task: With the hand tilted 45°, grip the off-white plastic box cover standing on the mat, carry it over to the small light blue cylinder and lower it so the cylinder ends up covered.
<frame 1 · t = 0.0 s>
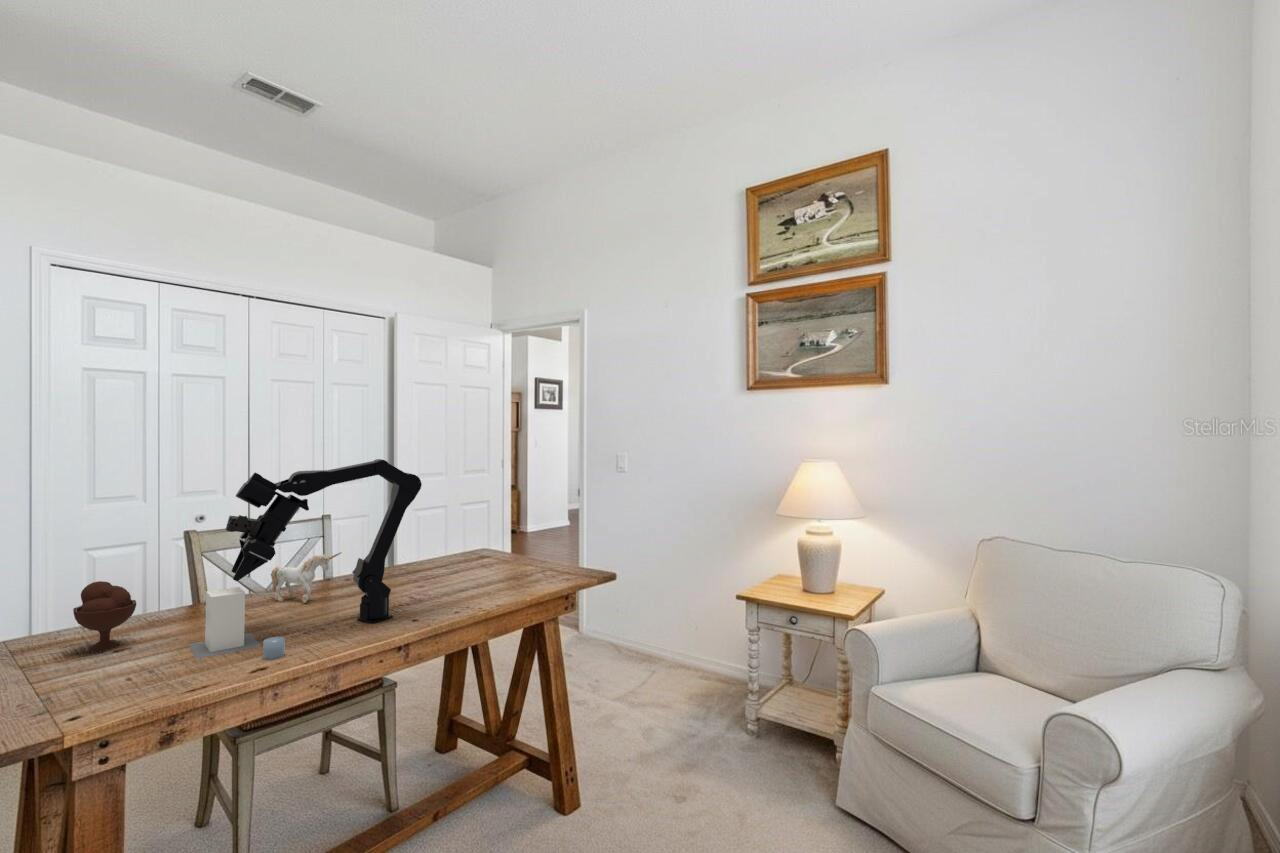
hand: (234, 576, 145), 15 cm above the table, tool tilted 35°, fingers open, 9 cm apart
cover: (224, 645, 141), resting on mat
ice cream bowl: (104, 649, 139), on the table
unicorn figurine: (305, 599, 182), on the table
mat: (224, 646, 141), on the table
light blue cylinder: (273, 658, 135), on the table
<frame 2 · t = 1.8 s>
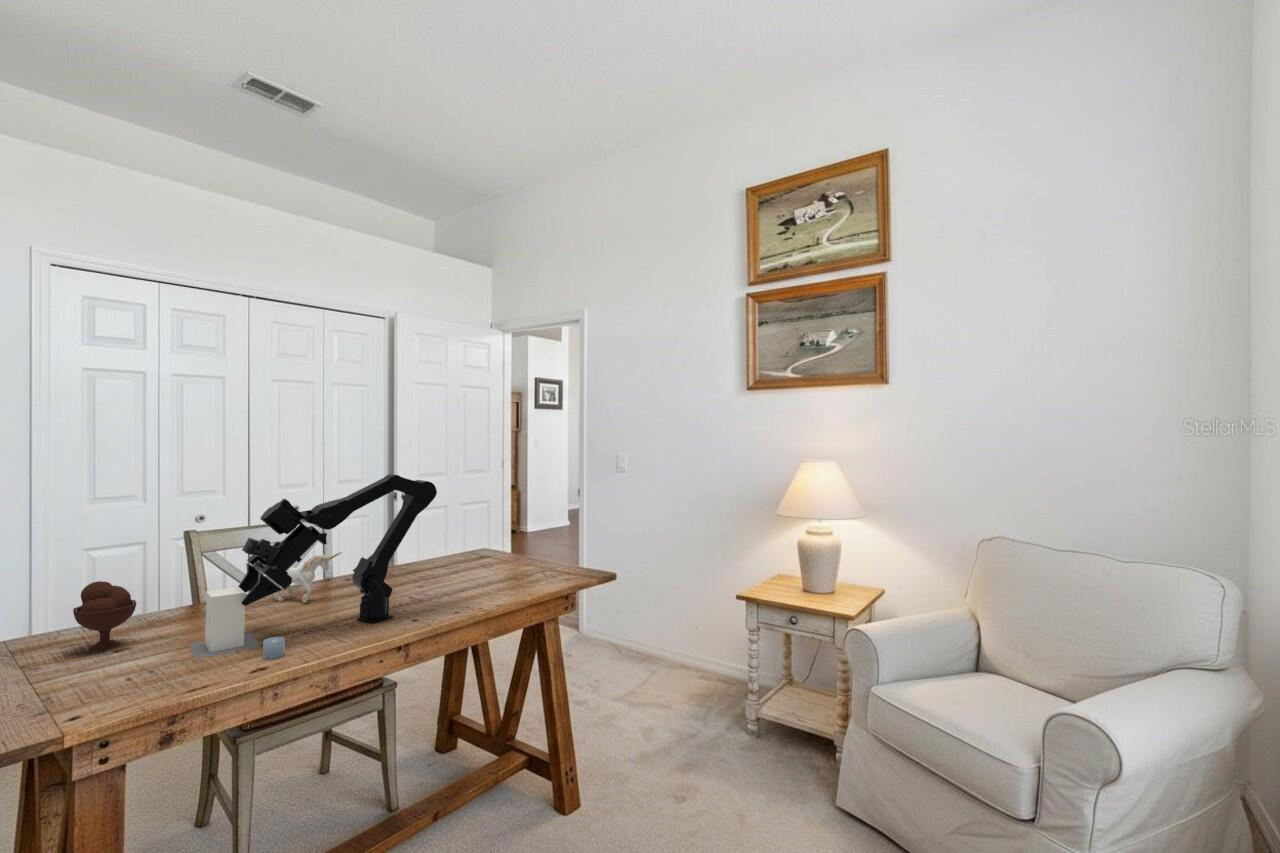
hand: (238, 600, 143), 10 cm above the table, tool tilted 45°, fingers open, 9 cm apart
nothing on the table moved.
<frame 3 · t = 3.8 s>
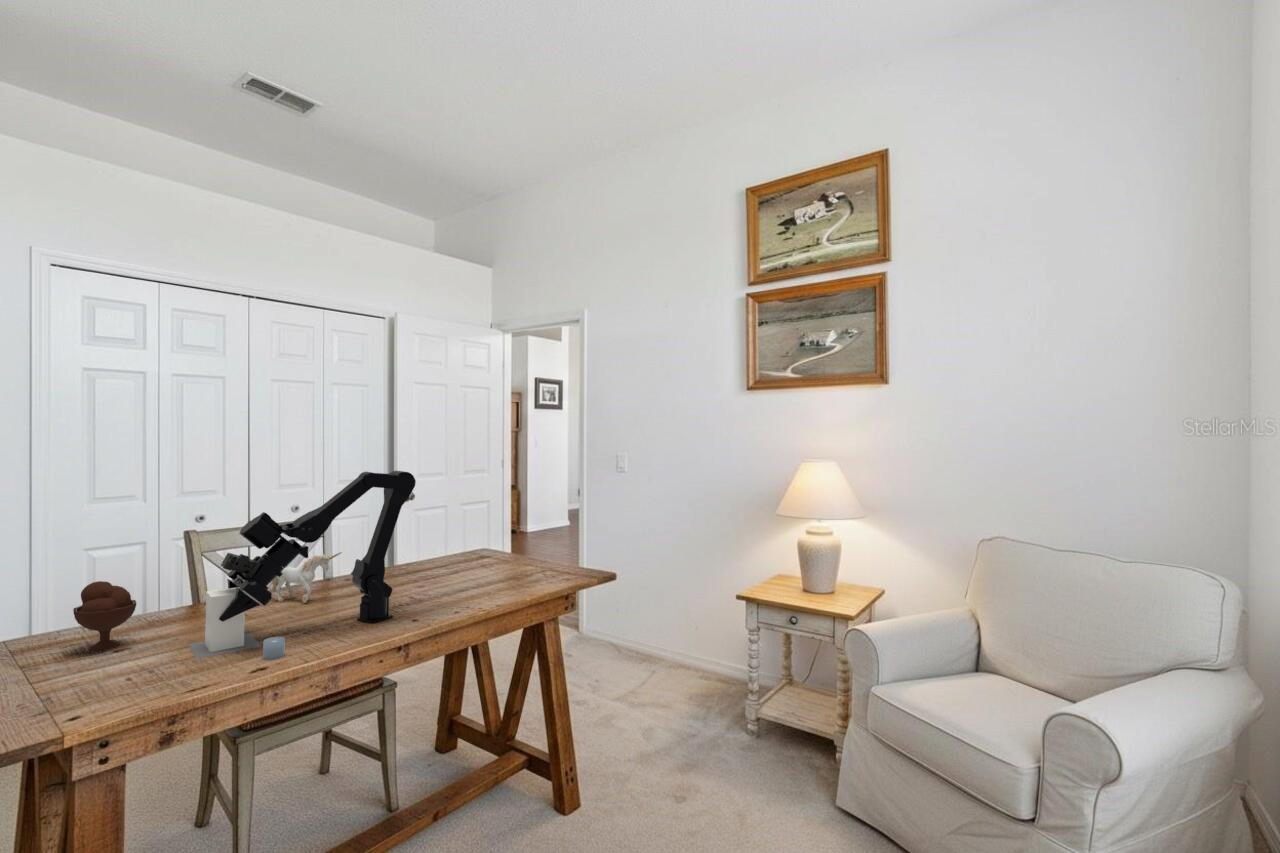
hand: (217, 616, 140), 7 cm above the table, tool tilted 45°, fingers closed on cover, 6 cm apart
cover: (224, 645, 141), resting on mat, touching gripper
everything else where it was.
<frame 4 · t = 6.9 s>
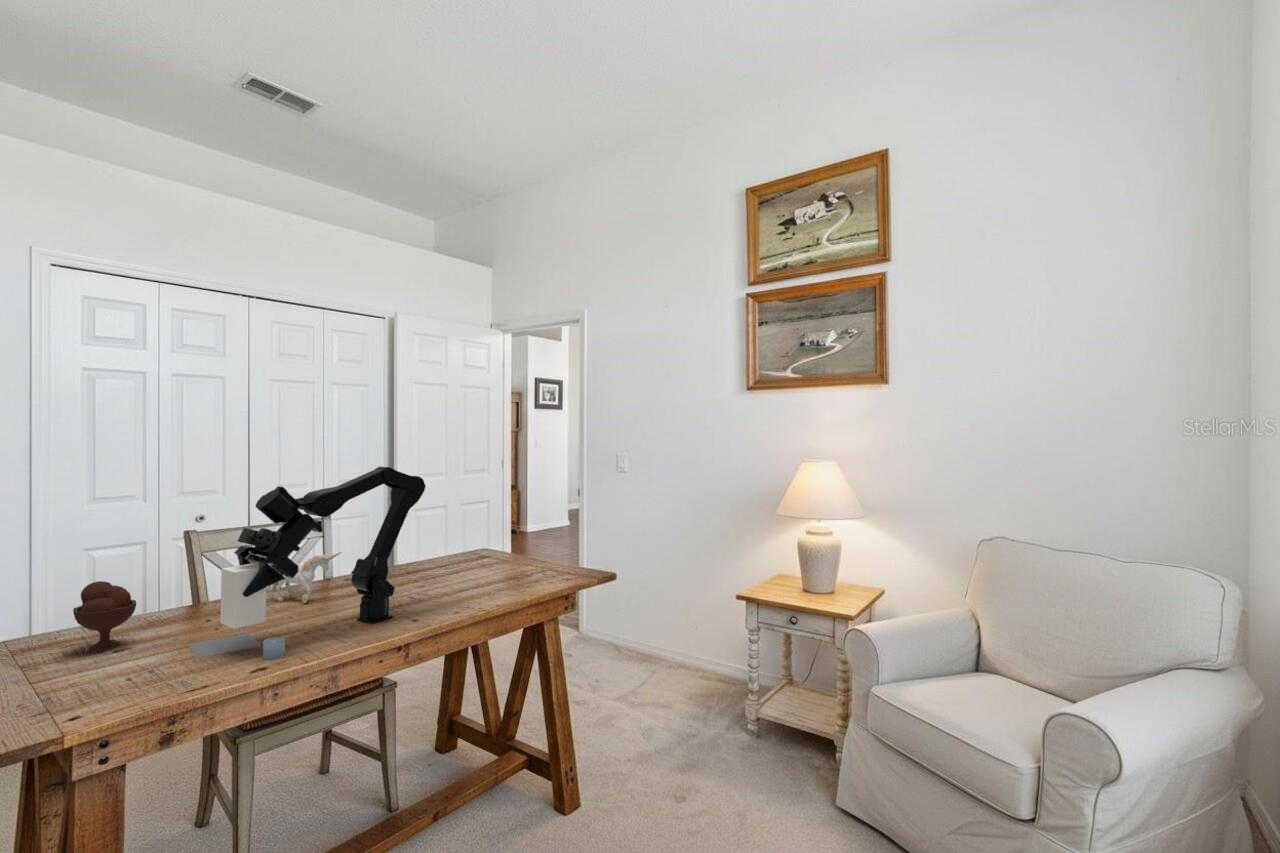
hand: (237, 593, 136), 13 cm above the table, tool tilted 45°, fingers closed on cover, 6 cm apart
cover: (243, 622, 137), point 7 cm above the table, touching gripper
everything else where it was.
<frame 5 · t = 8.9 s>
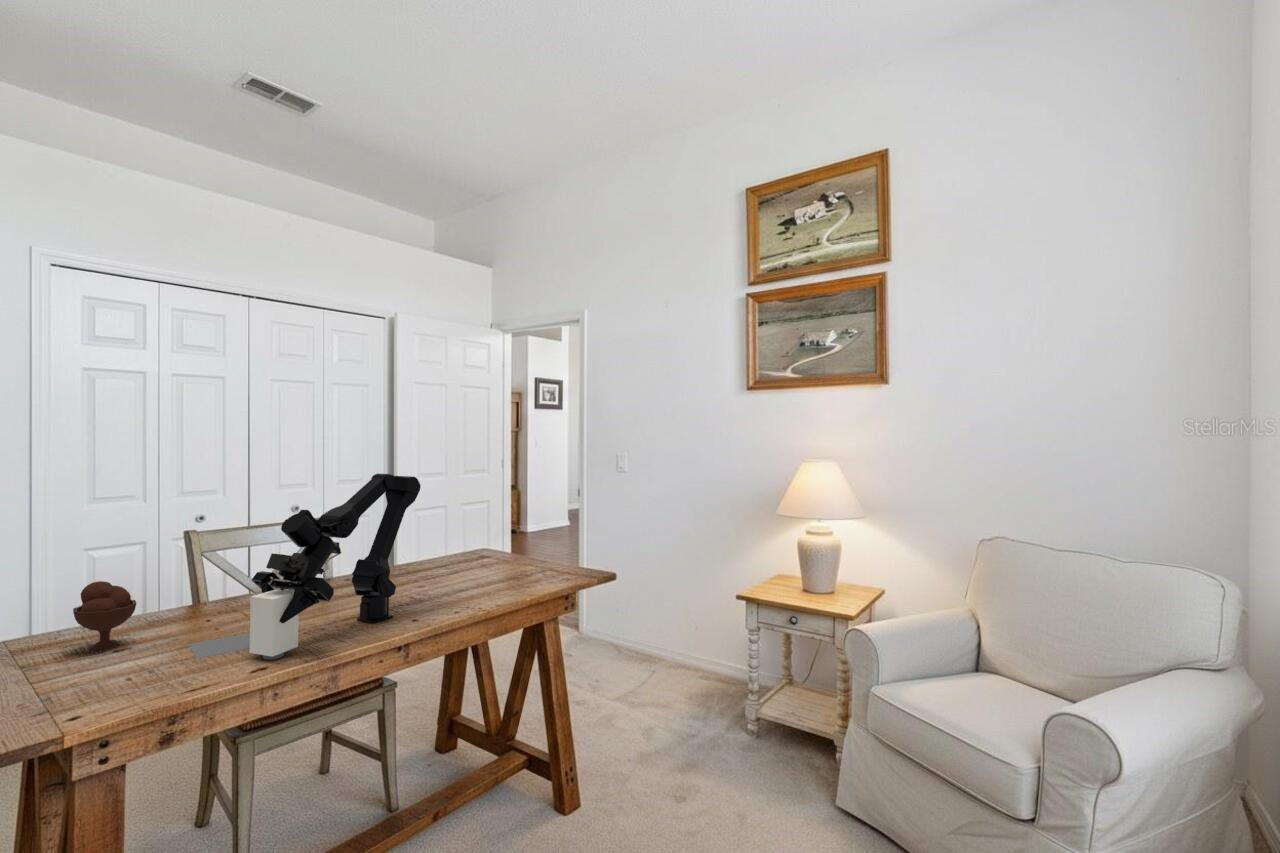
hand: (269, 620, 133), 8 cm above the table, tool tilted 45°, fingers closed on cover, 6 cm apart
cover: (274, 649, 135), point 2 cm above the table, touching gripper
everything else where it was.
when the fingers open (8 cm above the table, at t = 10.2 s): cover drops 1 cm, on the table.
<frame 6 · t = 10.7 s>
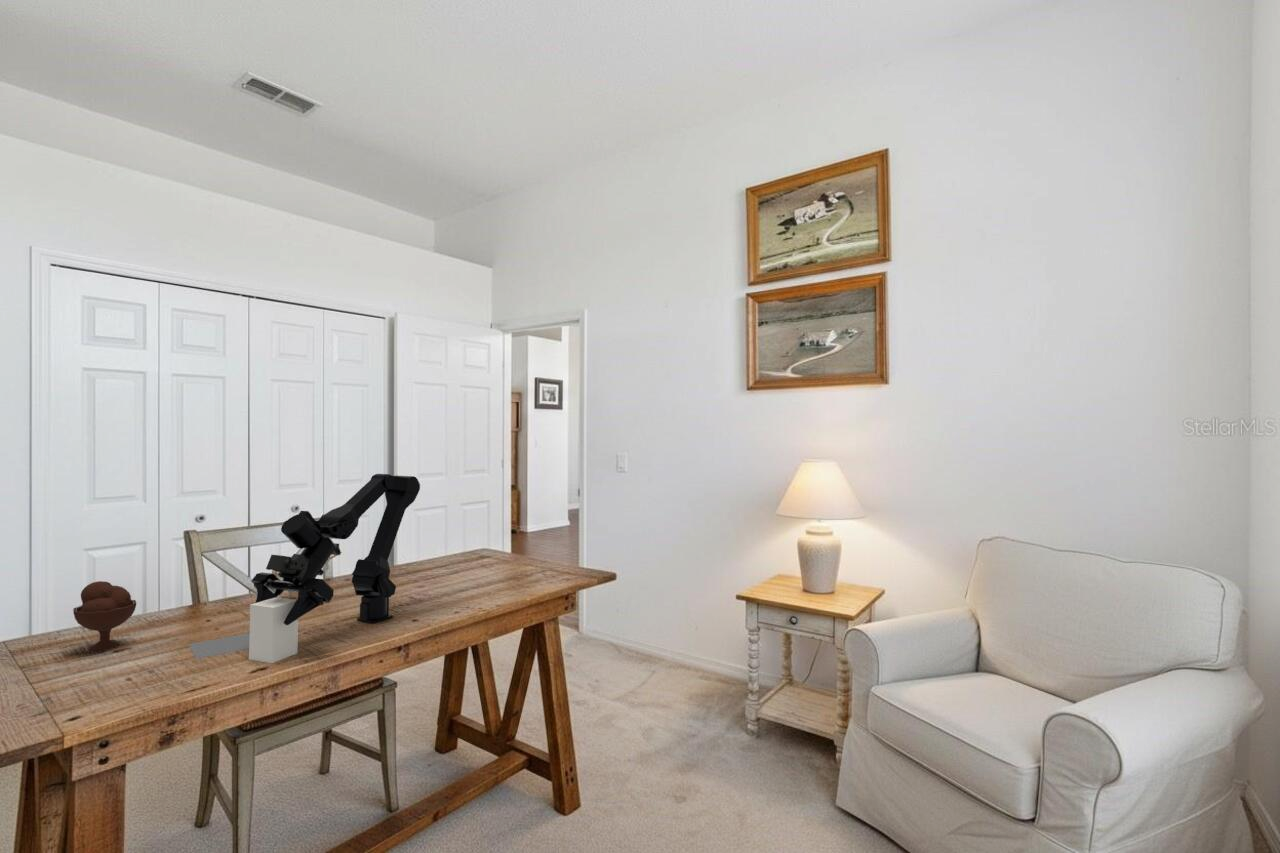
hand: (268, 621, 133), 8 cm above the table, tool tilted 45°, fingers open, 9 cm apart
cover: (273, 657, 135), on the table
everything else where it was.
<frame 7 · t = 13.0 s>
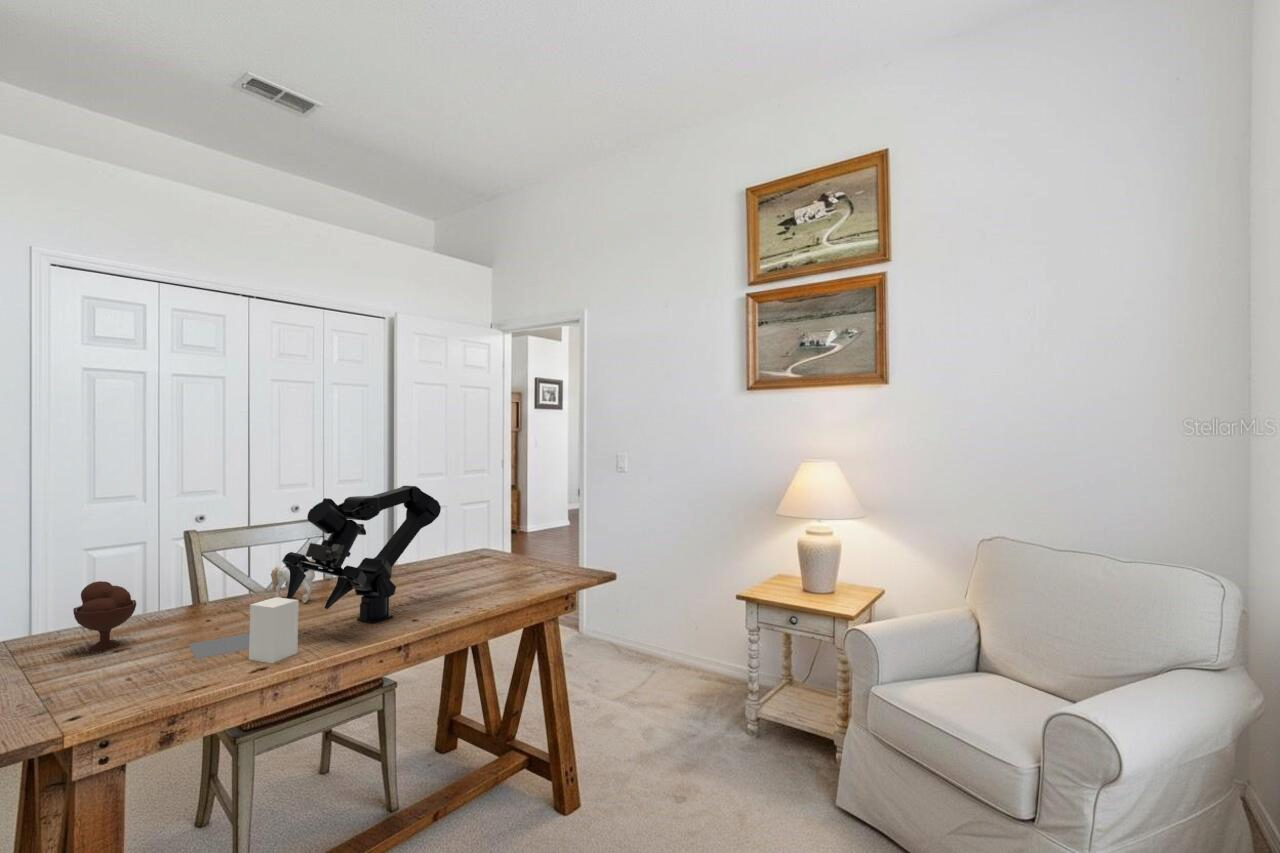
hand: (306, 604, 143), 9 cm above the table, tool tilted 35°, fingers open, 9 cm apart
nothing on the table moved.
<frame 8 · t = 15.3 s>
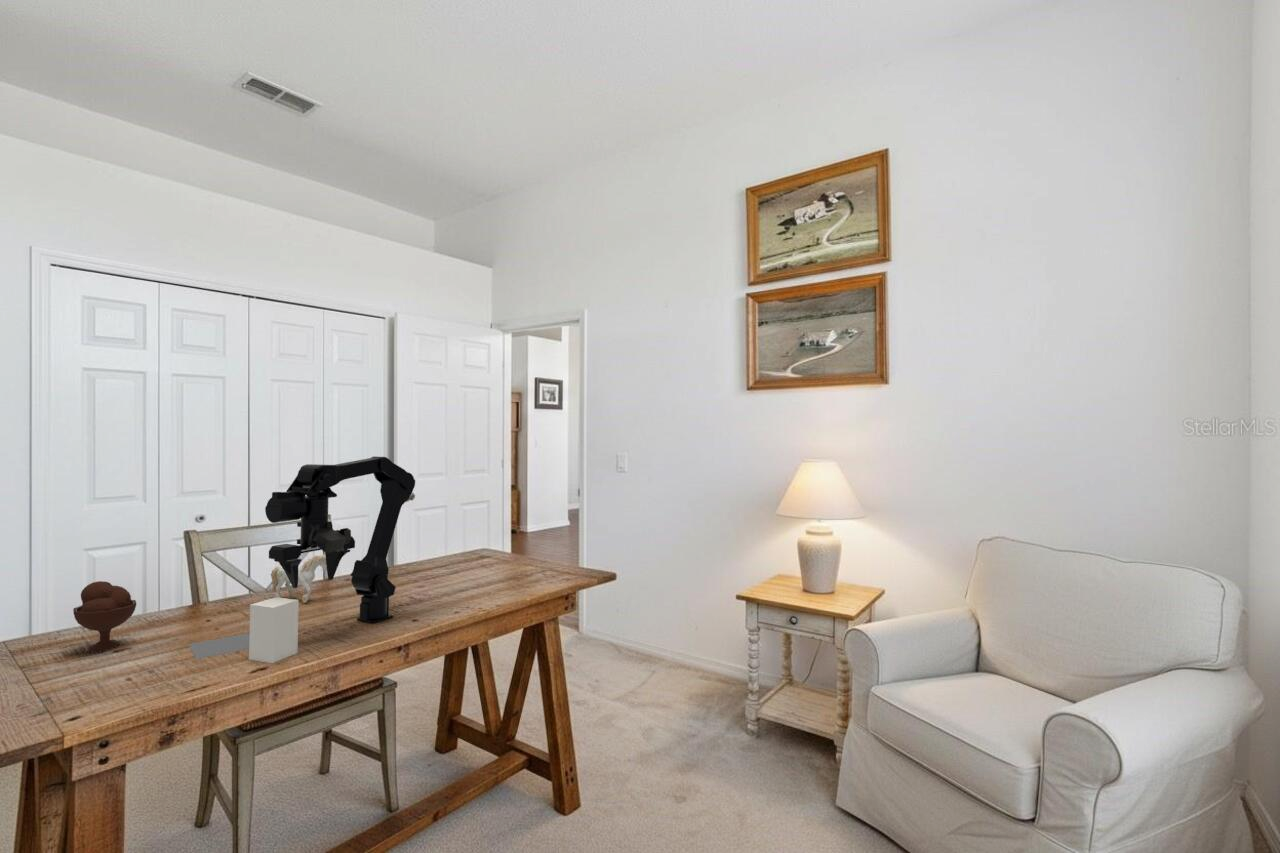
hand: (313, 583, 147), 13 cm above the table, tool pointing down, fingers open, 9 cm apart
nothing on the table moved.
at the end: cover 0.1 cm from the light blue cylinder (horizontally); cover on the table; cover tilted 0° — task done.
